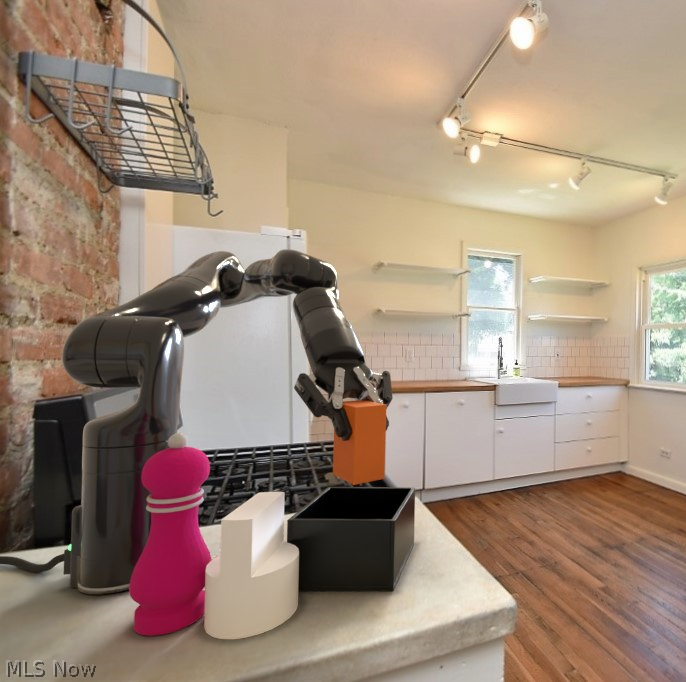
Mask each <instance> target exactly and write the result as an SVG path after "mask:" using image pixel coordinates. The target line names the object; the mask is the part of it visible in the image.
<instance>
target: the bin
mask: <svg viewBox="0 0 686 682" xmlns="http://www.w3.org/2000/svg"><path fill="white" fill-rule="evenodd" d="M415 512H416V487H405V486H404V487H401V486H400V487H393V486H392V487H391V486H390V487H387V486H386V487H385V486H382V487H381V486H374V487H373V486H328V487H326V488H325V489H324V490H323V491H321V492H320V493H319V494H318V495H316V496H315V497H314V498H313V499H312V500H310V501H309V502H308V503H307V504H305V505H304V506H303V507H301V508H300V509H298V511H296V512H295V513H294V514H293V515H292V516H290V518H288V519H287V520H286V521H287V522H286V523H287V524H286V543H290V544H293V545H295V546H296V547H297V548H298V549H299V580H298V592H394V591H395V588H396V586H397V584H398V582H399V580H400V578H401V575H402V573H403V571H404V569H405V566H406V564H407V561H408V559H409V557H410V554H411V552H412V550H413V548H414V546H415V520H416V519H415V518H416V517H415V515H416V513H415Z"/></svg>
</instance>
